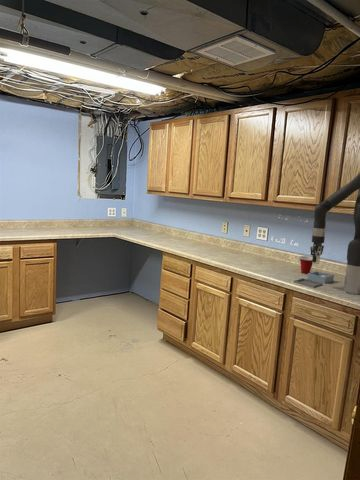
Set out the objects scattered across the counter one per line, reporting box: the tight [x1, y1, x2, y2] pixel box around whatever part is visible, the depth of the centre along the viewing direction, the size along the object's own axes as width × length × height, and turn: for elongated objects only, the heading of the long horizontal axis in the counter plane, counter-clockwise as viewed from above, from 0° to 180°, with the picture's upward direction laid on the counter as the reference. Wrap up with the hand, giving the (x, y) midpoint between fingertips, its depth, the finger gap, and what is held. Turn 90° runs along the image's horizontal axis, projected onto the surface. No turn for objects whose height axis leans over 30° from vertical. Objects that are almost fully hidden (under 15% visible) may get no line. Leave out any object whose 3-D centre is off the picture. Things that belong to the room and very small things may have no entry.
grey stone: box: [312, 255, 321, 265], centre depth 234 cm, size 4×4×5 cm
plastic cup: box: [299, 255, 314, 275], centre depth 269 cm, size 11×11×12 cm
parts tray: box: [293, 278, 324, 289], centre depth 239 cm, size 14×12×2 cm
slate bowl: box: [306, 270, 335, 284], centre depth 250 cm, size 13×13×4 cm
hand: (315, 261), depth 234 cm, fingers closed on grey stone, 4 cm apart
